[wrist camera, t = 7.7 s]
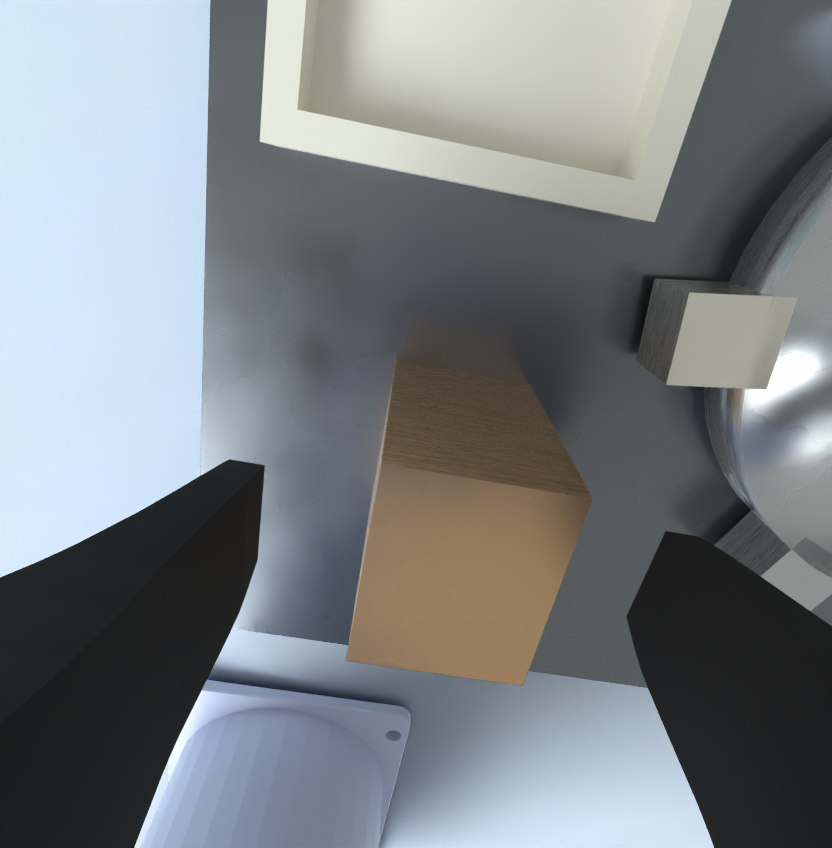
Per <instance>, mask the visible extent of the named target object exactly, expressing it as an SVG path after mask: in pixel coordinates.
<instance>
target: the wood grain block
mask: <svg viewBox="0 0 832 848" xmlns="http://www.w3.org/2000/svg"><path fill="white" fill-rule="evenodd" d="M592 500H593V498H592V496H591V494H590V492H589V491H588V489H587V487H586V485H585V483H584V481H583V480H582V478H581V476H580V474H579V472H578V470H577V469H576V467H575V465H574V463H573V461H572V460H571V458H570V456H569V454H568V452H567V450H566V449H565V447H564V445H563V443H562V441H561V440H560V438H559V436H558V434H557V432H556V430H555V429H554V427H553V425H552V423H551V421H550V420H549V418H548V416H547V414H546V412H545V410H544V409H543V407H542V405H541V403H540V401H539V400H538V398H537V396H536V394H535V392H534V390H533V389H532V387H531V385H530V384H525V383H519V382H514V381H508V380H503V379H497V378H492V377H486V376H480V375H475V374H469V373H464V372H458V371H453V370H447V369H442V368H436V367H430V366H425V365H419V364H414V363H408V362H403V361H397V360H396V363H395V369H394V374H393V380H392V386H391V391H390V397H389V403H388V408H387V414H386V420H385V425H384V431H383V437H382V442H381V448H380V454H379V459H378V465H377V471H376V476H375V482H374V487H373V493H372V499H371V504H370V511H369V517H368V523H367V530H366V536H365V543H364V549H363V555H362V562H361V568H360V574H359V581H358V587H357V593H356V600H355V606H354V612H353V619H352V625H351V631H350V638H349V644H348V651H347V657H346V661H350V662H357V663H364V664H371V665H378V666H386V667H393V668H400V669H407V670H414V671H421V672H428V673H435V674H442V675H450V676H457V677H464V678H471V679H478V680H485V681H492V682H499V683H506V684H514V685H521V686H523V683H524V681H525V678H526V675H527V673H528V670H529V667H530V665H531V662H532V659H533V657H534V654H535V651H536V649H537V646H538V644H539V641H540V638H541V636H542V633H543V630H544V628H545V625H546V622H547V620H548V617H549V614H550V612H551V609H552V606H553V604H554V601H555V598H556V596H557V593H558V590H559V588H560V585H561V582H562V580H563V577H564V574H565V572H566V569H567V566H568V564H569V561H570V558H571V556H572V553H573V550H574V548H575V545H576V543H577V540H578V537H579V535H580V532H581V529H582V527H583V524H584V521H585V519H586V516H587V513H588V511H589V508H590V505H591V503H592Z"/></svg>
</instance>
